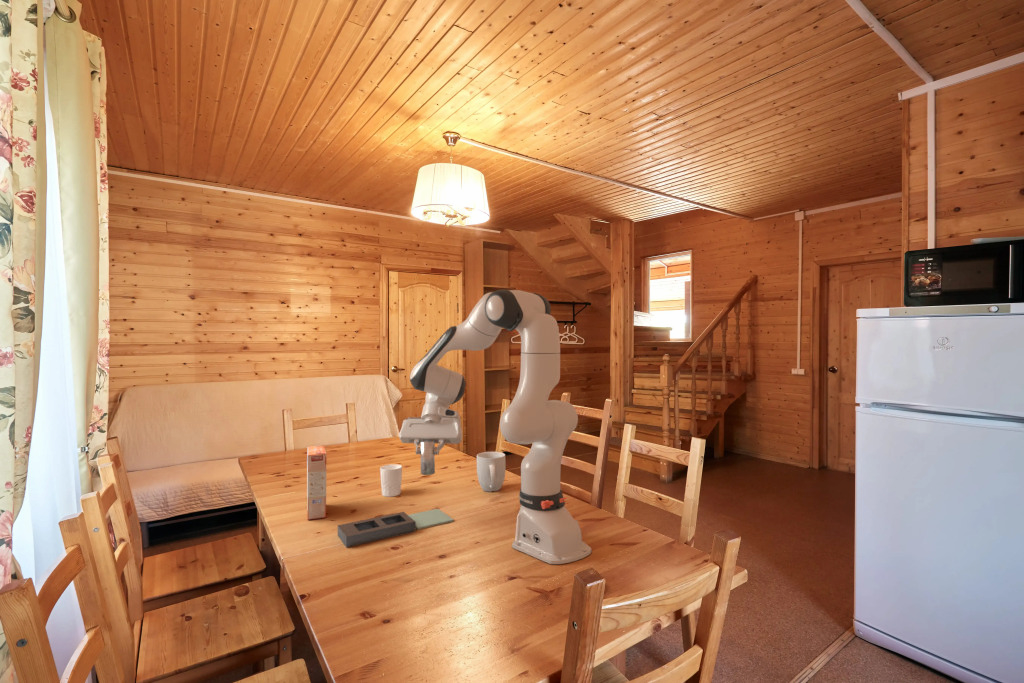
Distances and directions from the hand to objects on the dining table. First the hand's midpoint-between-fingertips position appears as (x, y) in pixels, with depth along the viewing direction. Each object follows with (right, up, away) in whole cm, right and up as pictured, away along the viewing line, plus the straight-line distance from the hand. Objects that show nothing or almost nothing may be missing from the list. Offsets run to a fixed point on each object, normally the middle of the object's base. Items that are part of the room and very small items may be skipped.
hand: (427, 453), depth 154 cm
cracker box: (-38, -22, +8) cm, 44 cm away
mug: (+19, -21, +31) cm, 42 cm away
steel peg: (0, -6, +1) cm, 6 cm away
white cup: (-18, -21, +27) cm, 39 cm away
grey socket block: (-13, -21, -10) cm, 27 cm away
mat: (0, -21, +1) cm, 21 cm away
